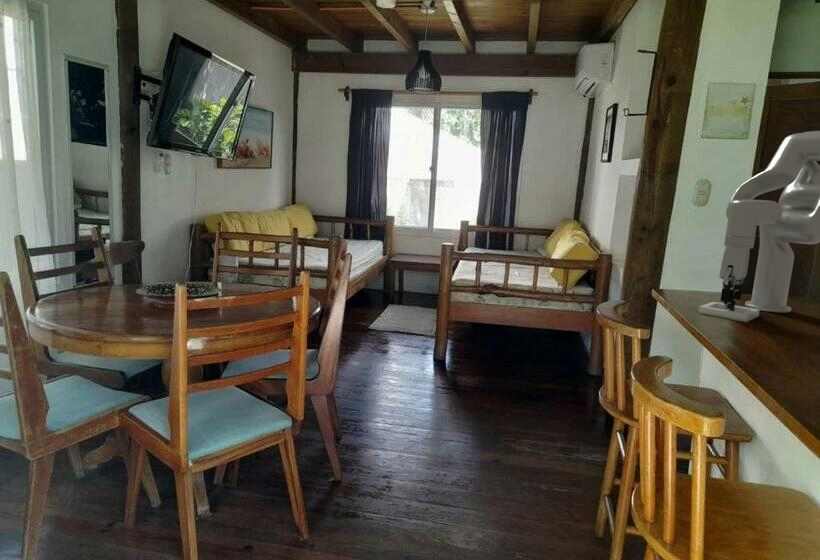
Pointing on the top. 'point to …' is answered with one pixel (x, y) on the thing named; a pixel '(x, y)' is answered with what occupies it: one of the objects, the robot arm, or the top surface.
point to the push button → (732, 305)
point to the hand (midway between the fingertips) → (730, 300)
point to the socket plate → (729, 312)
